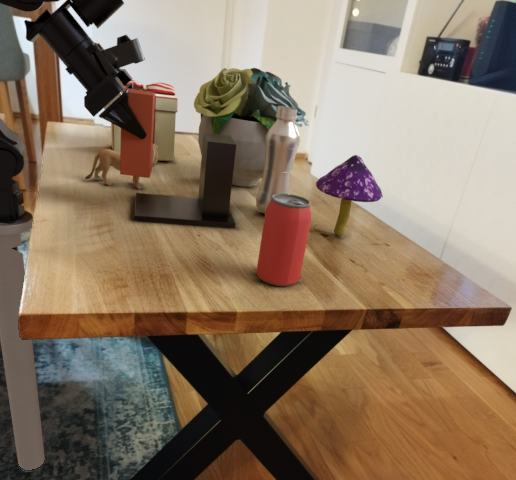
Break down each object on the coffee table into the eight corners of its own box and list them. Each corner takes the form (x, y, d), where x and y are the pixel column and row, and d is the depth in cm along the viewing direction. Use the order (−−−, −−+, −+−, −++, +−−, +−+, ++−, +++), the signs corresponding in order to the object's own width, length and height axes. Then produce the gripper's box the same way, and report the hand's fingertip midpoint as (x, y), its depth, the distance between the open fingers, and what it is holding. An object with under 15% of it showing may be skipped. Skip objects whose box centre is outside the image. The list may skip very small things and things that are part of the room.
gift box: (161, 146, 144) (163, 78, 135) (179, 163, 130) (183, 89, 121) (98, 142, 137) (97, 71, 128) (111, 160, 123) (110, 80, 114)
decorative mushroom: (300, 238, 94) (317, 153, 86) (312, 220, 104) (328, 143, 96) (367, 253, 92) (390, 168, 84) (372, 233, 102) (393, 156, 94)
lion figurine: (156, 183, 111) (158, 140, 106) (158, 190, 106) (159, 145, 102) (85, 178, 107) (84, 132, 102) (84, 185, 102) (82, 138, 98)
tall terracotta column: (120, 174, 87) (121, 90, 80) (123, 167, 92) (125, 87, 86) (149, 178, 88) (153, 95, 81) (151, 170, 93) (155, 92, 86)
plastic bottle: (257, 206, 107) (272, 103, 96) (289, 213, 106) (307, 109, 96) (251, 215, 101) (266, 106, 91) (284, 221, 100) (303, 112, 90)
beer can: (285, 292, 72) (301, 210, 66) (247, 277, 75) (258, 196, 69) (306, 279, 78) (322, 201, 71) (269, 265, 80) (282, 189, 74)
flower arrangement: (253, 168, 137) (267, 66, 124) (310, 196, 120) (332, 81, 107) (169, 168, 124) (174, 54, 111) (219, 200, 107) (232, 69, 94)
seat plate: (134, 221, 89) (135, 136, 82) (135, 197, 100) (136, 121, 93) (235, 228, 93) (245, 148, 86) (225, 205, 104) (233, 133, 97)
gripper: (106, 12, 69) (182, 110, 77) (119, 13, 85) (181, 96, 93) (49, 67, 72) (128, 157, 80) (72, 59, 88) (136, 135, 95)
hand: (145, 134), depth 87 cm, fingers closed on tall terracotta column, 6 cm apart
